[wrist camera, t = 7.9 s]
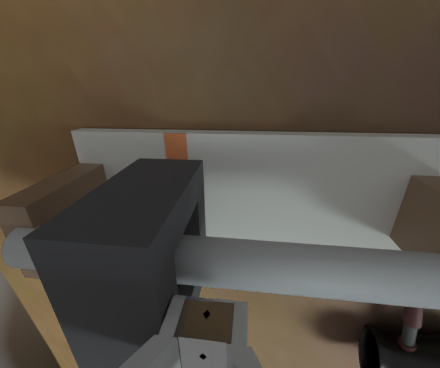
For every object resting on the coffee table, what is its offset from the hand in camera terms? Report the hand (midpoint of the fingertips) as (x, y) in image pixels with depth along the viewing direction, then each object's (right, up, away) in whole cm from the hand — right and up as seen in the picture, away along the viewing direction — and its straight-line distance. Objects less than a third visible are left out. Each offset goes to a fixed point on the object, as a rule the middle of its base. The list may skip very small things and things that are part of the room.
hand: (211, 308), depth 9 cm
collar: (-3, +3, +6) cm, 7 cm away
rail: (+2, +4, +9) cm, 11 cm away
